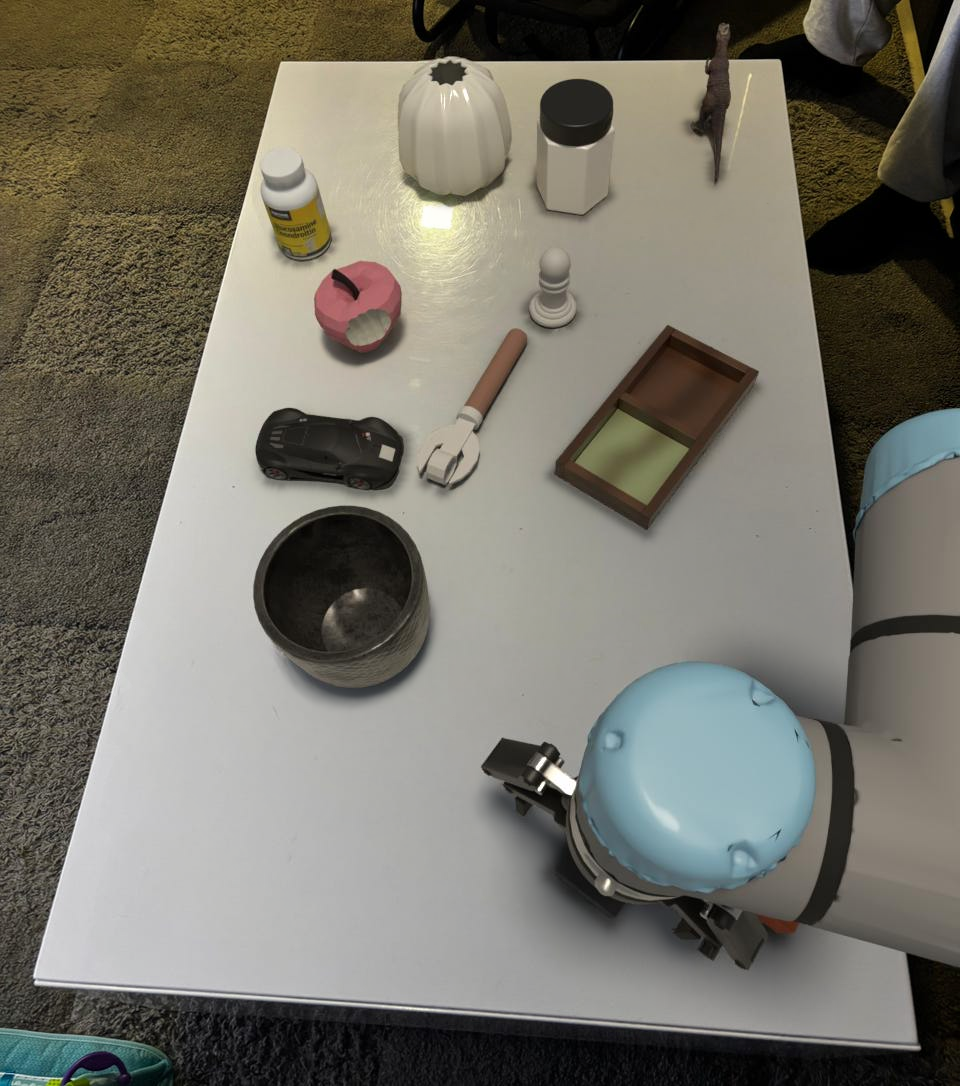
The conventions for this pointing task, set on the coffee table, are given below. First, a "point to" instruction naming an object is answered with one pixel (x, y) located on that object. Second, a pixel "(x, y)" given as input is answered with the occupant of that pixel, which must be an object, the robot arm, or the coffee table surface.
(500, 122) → the vase
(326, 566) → the planter
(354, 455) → the toy car
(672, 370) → the frame
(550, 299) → the chess piece
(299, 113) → the coffee table surface
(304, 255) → the pill bottle
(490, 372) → the pizza cutter
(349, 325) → the apple
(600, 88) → the jar
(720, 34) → the dinosaur model
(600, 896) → the black cube
